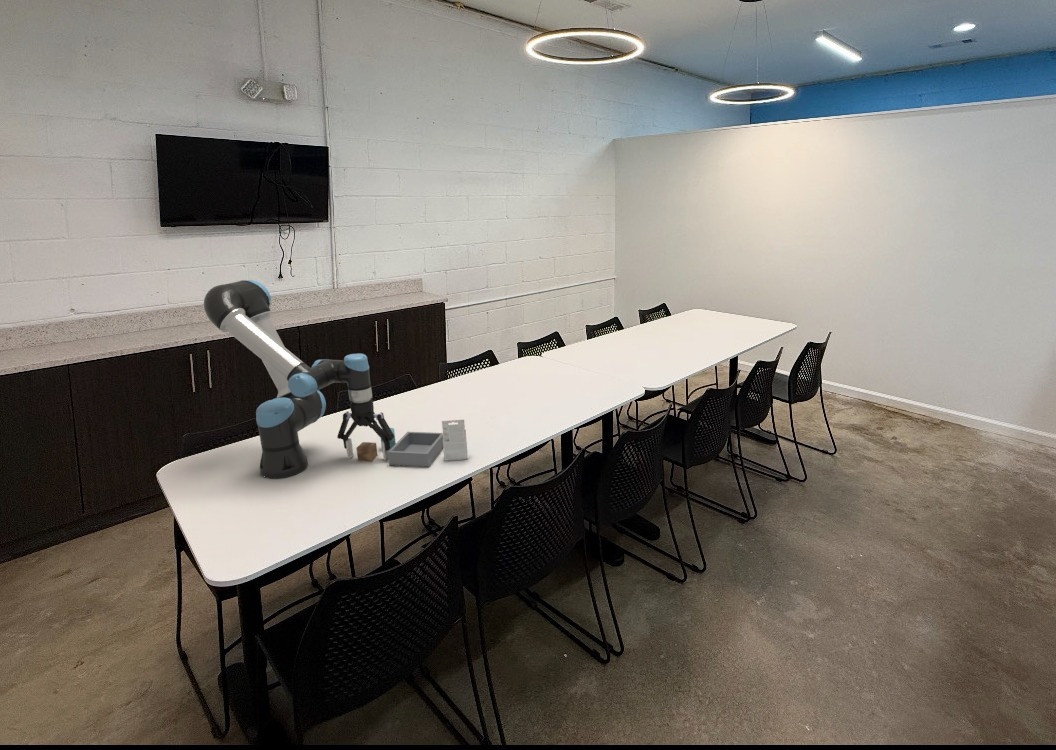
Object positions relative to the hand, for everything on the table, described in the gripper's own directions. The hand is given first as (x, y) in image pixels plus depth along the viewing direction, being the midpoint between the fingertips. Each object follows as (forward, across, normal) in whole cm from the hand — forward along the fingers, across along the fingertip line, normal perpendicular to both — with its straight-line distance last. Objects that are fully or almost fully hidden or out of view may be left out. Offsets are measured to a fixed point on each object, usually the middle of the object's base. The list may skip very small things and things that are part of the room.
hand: (368, 457), depth 204 cm
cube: (0, 0, 0) cm, 0 cm away
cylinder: (0, +4, +9) cm, 10 cm away
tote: (0, +17, +4) cm, 17 cm away
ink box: (0, +31, +3) cm, 31 cm away
